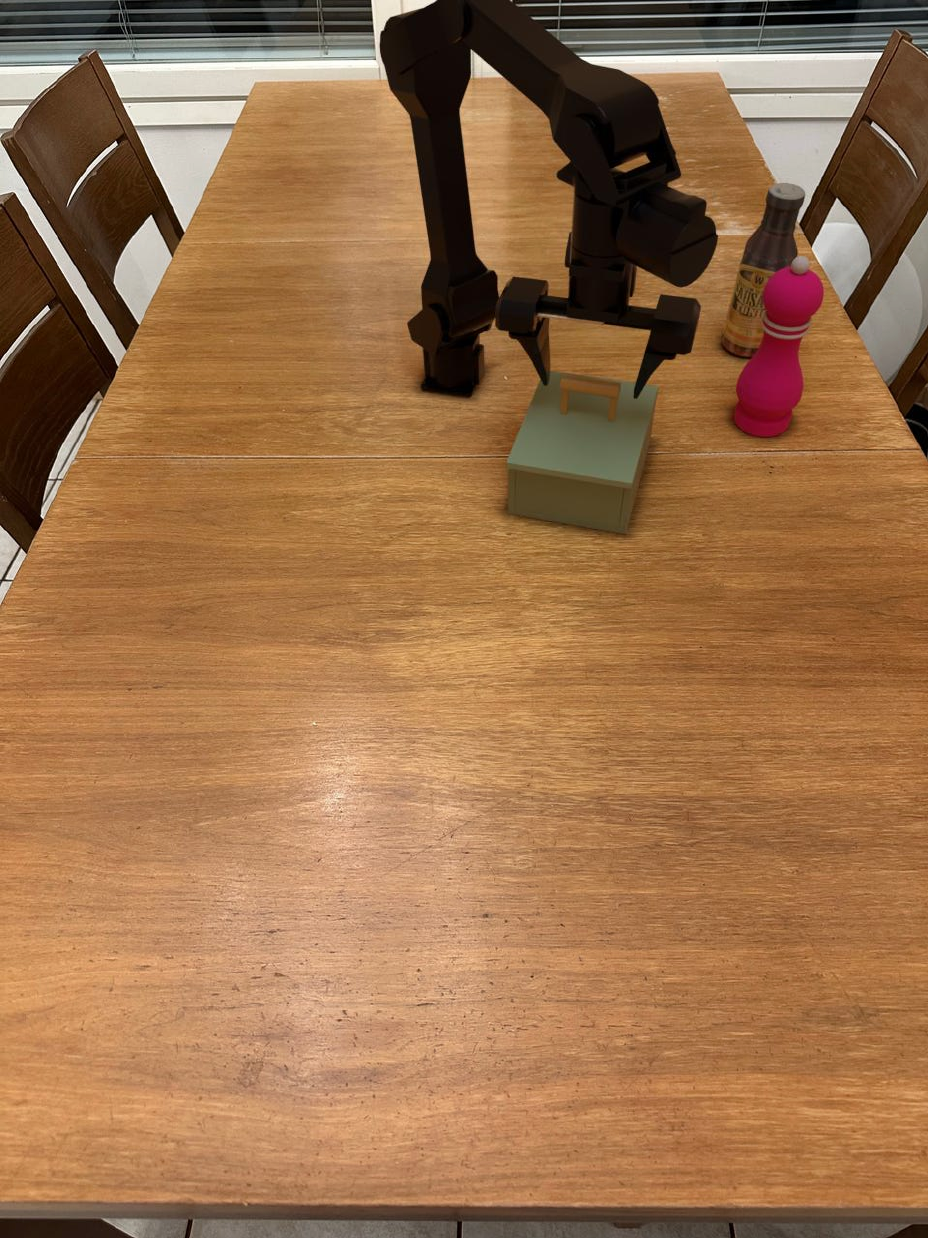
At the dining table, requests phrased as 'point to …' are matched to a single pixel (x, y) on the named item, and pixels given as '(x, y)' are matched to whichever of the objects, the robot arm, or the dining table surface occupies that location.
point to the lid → (584, 430)
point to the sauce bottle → (762, 268)
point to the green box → (575, 497)
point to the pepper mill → (778, 351)
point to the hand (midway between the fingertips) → (590, 389)
